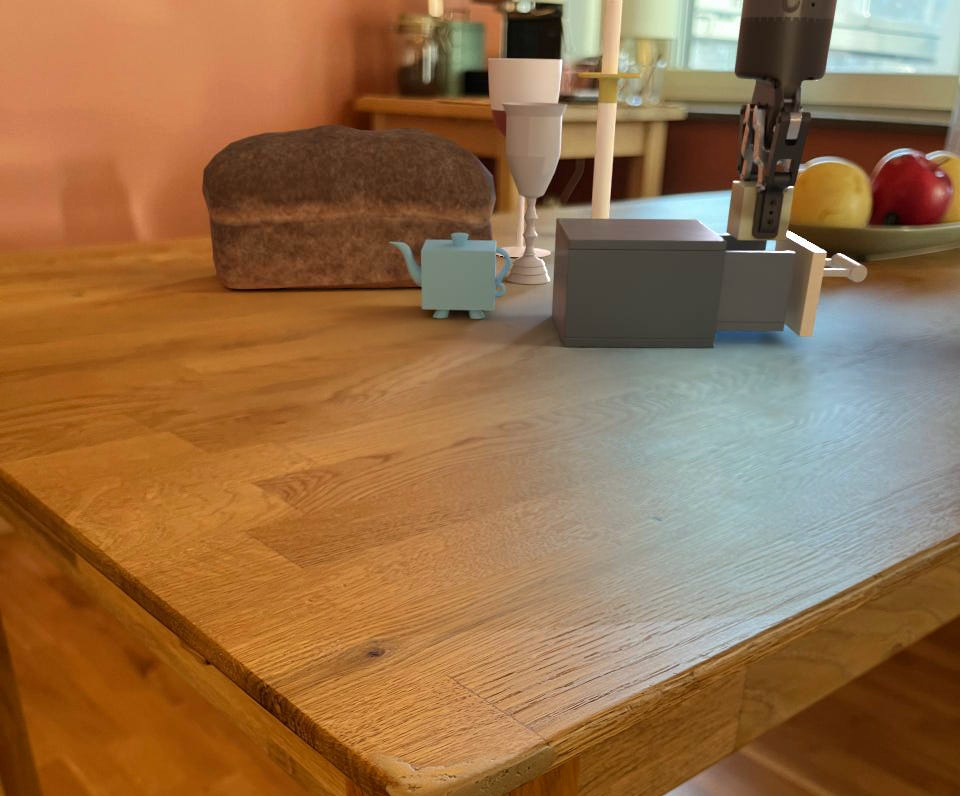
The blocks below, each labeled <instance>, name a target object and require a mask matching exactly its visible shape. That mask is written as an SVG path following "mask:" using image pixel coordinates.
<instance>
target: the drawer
mask: <svg viewBox="0 0 960 796" xmlns="http://www.w3.org/2000/svg"><path fill="white" fill-rule="evenodd" d="M716 234H717V235H719V236H720V237H721V238H723V239H724V240H726V241H727V246H726V254H725V262H724V270H723V278H722V286H721V293H720V301H719V309H718V317H717V325H716V332H784V330H785V326H786V328H788V329H790V330H791V331H792V332H793V333H794V334H796V335H797V337H799V338H812V337H813V334H814V328H815V324H816V317H817V311H818V305H819V301H820V300H819V299H820V294H821V290H822V289H821V288H822V282H823V278H824V277H834V278H835V277H837V278H838V277H841V278H842V277H843V278H847V279H849V280H851V282H854V283H861V282H863V281H864V280H865V279H866V277H867V275H868V269H867V267H866V266H865V265H863V264H861V263H859V262H857V261H856V260H854V259H853V258H850V257H849V256H846V255H845V254H842V253H835V254H833V255H832V256H831V258H827V255H828V252H827V251H826V250H824V249H823V248H820V247H819V246H817V245H815V244H813V243H811V242H809V241H807V239H805V238H802V237H801V236H798V235H797V234H795V233H793V232H791V231H789V230H788V232H787V238H786V241H775V246H774V250H766V249H767V243H768V240H737V239H736V238H734V237H733V236H731V235H730V234H728V233H716ZM825 267H829V268H825Z"/></svg>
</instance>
